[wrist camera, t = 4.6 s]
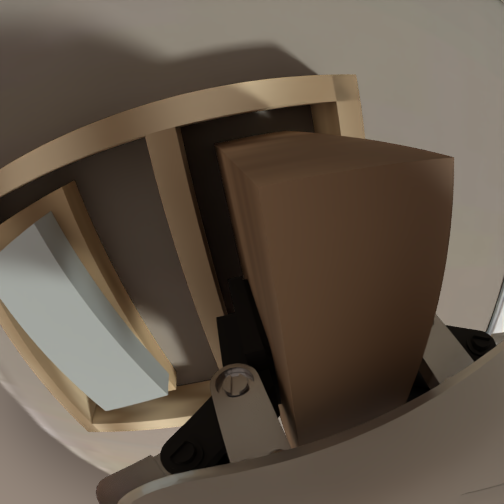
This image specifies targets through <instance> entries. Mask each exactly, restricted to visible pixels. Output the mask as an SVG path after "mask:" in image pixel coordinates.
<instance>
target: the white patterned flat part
mask: <svg viewBox="0 0 504 504" xmlns="http://www.w3.org/2000/svg"><path fill="white" fill-rule="evenodd" d="M502 332H504V281H503V285H502V288H501V291H500V295H499V298H498V301H497V304H496V307H495V310H494V313H493V316H492V319H491V322H490V325H489V327H488V330H487V332H486V333H487V334H489V335H490V336H491V334H493V333H502Z"/></svg>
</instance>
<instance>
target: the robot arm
mask: <svg viewBox="0 0 504 504" xmlns="http://www.w3.org/2000/svg"><path fill="white" fill-rule="evenodd" d="M500 1H502V2H503V3H504V0H500ZM228 282H229V287H230V292H231V296H232V301H233V305H234V310H235V313H232V314H228V315H224V316H219V317H216V322H217V329H218V337H219V344H220V351H221V358H222V365H223V367H222V368H221V369H220V370H218V371H217V372H216V373H215V374H214V375H213V377H212V379H211V381H210V391H211V395H212V396H211V397H210V398H209V399H208V400H207V401H206V402H205V403H204V404H203V405H202V406H201V407H200V408H199V409H198V410H197V411H196V412H195V414H194V415H193V416H192V417H191V418H190V419H189V420H188V421H187V422H186V423H185V424H184V425H183V426H182V427H181V428H180V429H179V430H178V431H177V432H176V433H175V434H174V435H173V436H172V437H171V438H170V439H169V440H168V441H167V442H166V443H165V444H164V446H163V447H162V450H161V453H160V454H158V455H156V456H154V457H153V456H151V455H150V456H148V457H146V458H144V459H142V460H140V461H138V462H136V463H134V464H132V465H130V466H128V467H126V468H124V469H122V470H120V471H118V472H116V473H114V474H112V475H109V476H107V477H105V478H104V479H102V480H101V481H100V482H99V484H98V485H97V488H96V496H97V500H98V502H99V504H504V332H502V333H493V334H491V336H490V335H489V334H487V333H486V332H483V331H479V330H472V329H466V328H460V327H454V326H448V325H445V324H444V323H443V322H442V321H441V320H440V318H439V317H438V316H437V315H436V314H435V317H434V321H433V325H432V328H431V332H430V335H429V339H428V342H427V345H426V349H425V352H424V355H423V358H422V361H421V364H420V367H419V370H418V373H417V375H416V378H415V381H414V383H413V386H412V389H411V391H410V394H409V396H408V399H407V401H406V403H405V404H404V405H402V406H400V407H398V408H396V409H394V410H392V411H390V412H388V413H386V414H383V415H381V416H379V417H377V418H375V419H372V420H370V421H368V422H365V423H363V424H361V425H358V426H356V427H353V428H351V429H348V430H346V431H343V432H341V433H338V434H335V435H332V436H330V437H327V438H324V439H321V440H318V441H315V442H312V443H309V444H306V445H302V446H299V447H296V448H291V446H290V444H289V442H288V439H287V437H286V435H285V433H284V431H283V429H282V426H281V424H280V422H279V420H278V417H279V416H280V410H279V406H278V405H279V404H282V402H281V397H280V392H279V387H278V382H277V377H276V372H275V367H274V362H273V357H272V352H271V348H270V345H269V341H268V338H267V335H266V332H265V330H264V327H263V324H262V321H261V318H260V315H259V312H258V309H257V306H256V303H255V300H254V297H253V294H252V291H251V288H250V285H249V282H248V279H244V280H243V278H242V276H241V277H236V278H232V279H228Z"/></svg>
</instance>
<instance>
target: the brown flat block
mask: <svg viewBox="0 0 504 504" xmlns="http://www.w3.org/2000/svg"><path fill="white" fill-rule="evenodd" d="M214 145H215V150H216V155H217V160H218V164H219V169H220V174H221V178H222V183H223V188H224V192H225V197H226V202H227V206H228V211H229V215H230V220H231V224H232V229H233V233H234V238H235V242H236V247H237V251H238V256H239V260H240V265H241V269H242V274H243V278H244V279H248V282H249V285H250V288H251V291H252V294H253V297H254V300H255V303H256V306H257V309H258V312H259V315H260V318H261V321H262V324H263V327H264V330H265V332H266V335H267V338H268V341H269V345H270V348H271V352H272V357H273V362H274V367H275V372H276V377H277V382H278V387H279V392H280V397H281V402H282V404H279V405H278V406H279V410H280V418H281V421H282V424H283V427H284V430H285V434H286V437H287V439H288V442H289V444H290V446H291V448H296V447H299V446H302V445H306V444H309V443H312V442H315V441H318V440H321V439H324V438H327V437H330V436H332V435H335V434H338V433H341V432H343V431H346V430H348V429H351V428H353V427H356V426H358V425H361V424H363V423H365V422H368V421H370V420H372V419H375V418H377V417H379V416H381V415H383V414H386V413H388V412H390V411H392V410H394V409H396V408H398V407H400V406H402V405H404V404H405V403H406V401H407V399H408V396H409V394H410V391H411V389H412V386H413V383H414V381H415V378H416V375H417V373H418V370H419V367H420V364H421V361H422V358H423V355H424V352H425V349H426V345H427V342H428V339H429V335H430V332H431V328H432V325H433V321H434V317H435V313H436V309H437V305H438V300H439V296H440V291H441V286H442V281H443V276H444V271H445V265H446V259H447V252H448V245H449V237H450V228H451V218H452V205H453V186H454V157H450V156H447V155H443V154H439V153H435V152H430V151H426V150H422V149H417V148H412V147H407V146H402V145H397V144H392V143H386V142H381V141H374V140H368V139H362V138H355V137H347V136H339V135H330V134H321V133H310V132H298V131H279V132H273V133H267V134H261V135H255V136H249V137H244V138H239V139H234V140H229V141H224V142H219V143H215V144H214Z"/></svg>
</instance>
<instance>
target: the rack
mask: <svg viewBox="0 0 504 504" xmlns="http://www.w3.org/2000/svg"><path fill="white" fill-rule="evenodd" d="M303 105H310V106H311V112H312V119H313V125H314V132H315V133H321V134H330V135H339V136H347V137H355V138H362V139H365V134H364V126H363V117H362V110H361V103H360V96H359V90H358V84H357V78H356V75H310V76H294V77H283V78H273V79H264V80H256V81H249V82H242V83H236V84H230V85H224V86H219V87H214V88H209V89H204V90H199V91H194V92H190V93H186V94H182V95H178V96H174V97H170V98H166V99H162V100H159V101H155V102H152V103H149V104H145V105H142V106H139V107H136V108H132V109H129V110H126V111H123V112H121V113H118V114H115V115H112V116H109V117H107V118H104V119H101V120H99V121H96V122H94V123H91V124H89V125H86V126H84V127H81V128H79V129H77V130H74V131H72V132H70V133H67V134H65V135H63V136H61V137H59V138H57V139H55V140H52V141H50V142H48V143H46V144H44V145H42V146H40V147H38V148H36V149H35V150H33V151H31V152H29V153H27V154H25V155H23V156H22V157H20V158H18V159H16V160H15V161H13V162H11V163H9V164H8V165H6V166H4V167H3V168H1V169H0V198H1V197H3V196H5V195H7V194H8V193H10V192H12V191H14V190H16V189H18V188H20V187H22V186H24V185H26V184H28V183H30V182H32V181H34V180H36V179H38V178H40V177H42V176H44V175H46V174H48V173H51V172H53V171H55V170H57V169H59V168H62V167H64V166H66V165H69V164H71V163H74V162H76V161H78V160H81V159H83V158H86V157H89V156H91V155H94V154H96V153H99V152H102V151H105V150H107V149H110V148H113V147H116V146H119V145H122V144H125V143H128V142H131V141H134V140H137V139H140V138H144V137H145V138H146V142H147V146H148V151H149V155H150V159H151V163H152V167H153V171H154V175H155V178H156V182H157V186H158V190H159V193H160V197H161V201H162V204H163V208H164V211H165V215H166V218H167V222H168V225H169V228H170V232H171V235H172V238H173V242H174V245H175V248H176V251H177V254H178V257H179V261H180V264H181V267H182V270H183V273H184V276H185V279H186V282H187V285H188V288H189V290H190V293H191V296H192V299H193V302H194V305H195V308H196V310H197V313H198V316H199V319H200V321H201V324H202V327H203V329H204V332H205V335H206V337H207V340H208V343H209V345H210V348H211V350H212V353H213V355H214V358H215V360H216V363H217V365H218V368H219V370H220V369H221V368H222V367H223V365H222V358H221V351H220V344H219V337H218V329H217V322H216V317H219V316H224V315H228V313H227V310H226V306H225V303H224V300H223V296H222V293H221V289H220V285H219V282H218V278H217V275H216V271H215V267H214V264H213V260H212V256H211V253H210V249H209V245H208V241H207V238H206V234H205V230H204V226H203V222H202V218H201V214H200V210H199V206H198V202H197V198H196V194H195V190H194V186H193V182H192V178H191V173H190V169H189V165H188V161H187V156H186V152H185V148H184V143H183V139H182V134H181V129H180V127H183V126H187V125H191V124H196V123H200V122H204V121H209V120H213V119H218V118H223V117H228V116H234V115H239V114H245V113H251V112H257V111H263V110H270V109H277V108H285V107H294V106H303ZM0 324H1V326H2V327H3V329H4V331H5V332H6V334H7V335H8V337H9V338H10V340H11V341H12V343H13V344H14V346H15V347H16V349H17V350H18V352H19V353H20V354H21V356H22V357H23V359H24V360H25V361H26V363H27V364H28V365H29V367H30V368H31V369H32V370H33V372H34V373H35V374H36V376H37V377H38V378H39V379H40V381H41V382H42V383H43V384H44V385H45V387H46V388H47V389H48V390H49V391H50V392H51V394H52V395H53V396H54V397H55V398H56V399H57V400H58V401H59V402H60V404H61V405H62V406H63V407H64V408H65V409H66V410H67V411H68V412H69V413H70V414H71V415H72V416H73V417H74V418H75V419H76V420H77V421H78V422H79V423H80V424H81V425H82V426H83V427H84V428H85V429H86V430H87V431H88V432H115V431H136V430H150V429H161V428H170V427H179V426H183V425H184V424H185V423H186V422H187V421H188V420H189V419H190V418H191V417H192V416H193V415H194V414H195V412H196V411H197V410H198V409H199V408H200V407H201V406H202V405H203V404H204V403H205V402H206V401H207V400H208V399H209V398H210V397H211V396H212V395H211V391H210V381H211V380H209V381H204V382H199V383H193V384H188V385H182V386H176V390H172V391H168V395H167V396H163V397H160V398H156V399H153V400H149V401H145V402H141V403H138V404H134V405H130V406H126V407H122V408H117V409H113V410H109V411H105V410H104V409H102V408H101V407H100V406H99V405H98V404H96V403H95V402H94V401H93V400H92V399H91V398H89V397H88V396H87V395H86V394H85V393H84V392H83V391H82V390H80V389H79V388H78V387H77V386H76V385H75V384H74V383H73V382H72V381H71V380H70V379H69V378H68V377H67V376H66V375H65V374H64V373H63V372H62V371H61V370H60V369H59V368H58V367H57V366H56V365H55V364H54V363H53V362H52V361H51V360H50V359H49V358H48V357H47V356H46V355H45V354H44V353H43V351H42V350H41V349H40V348H39V347H38V346H37V345H36V344H35V342H34V341H33V340H32V339H31V338H30V337H29V335H28V334H27V333H26V332H25V331H24V329H23V328H22V327H21V326H20V324H19V323H18V322H17V320H16V319H15V318H14V317H13V315H12V314H11V313H10V311H9V310H8V309H7V307H6V306H5V304H4V303H3V302H2V300H1V299H0Z"/></svg>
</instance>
